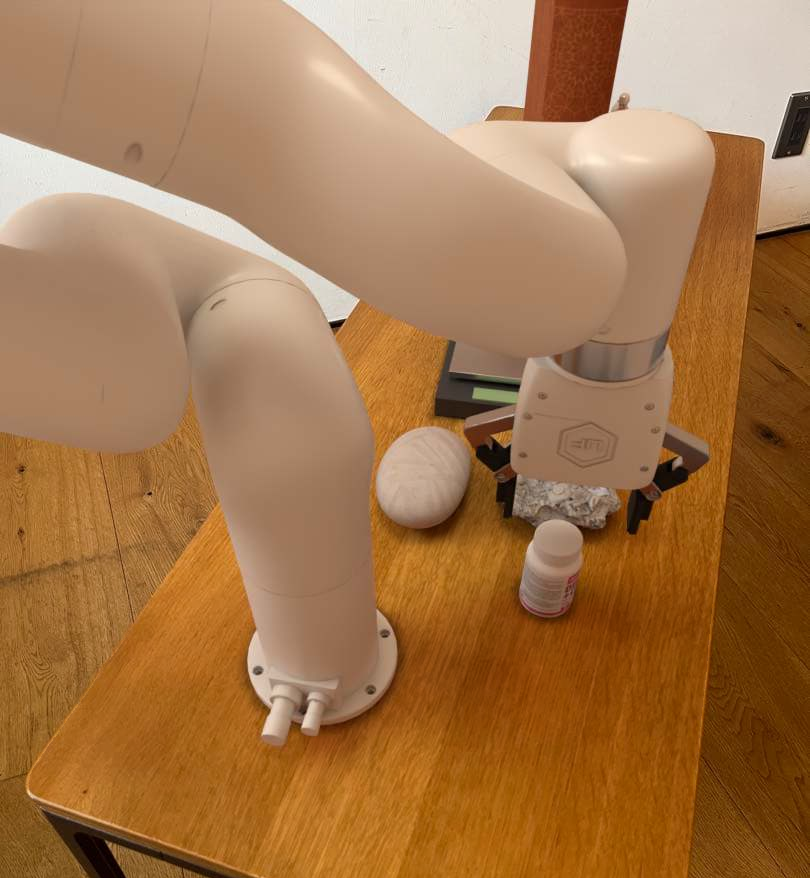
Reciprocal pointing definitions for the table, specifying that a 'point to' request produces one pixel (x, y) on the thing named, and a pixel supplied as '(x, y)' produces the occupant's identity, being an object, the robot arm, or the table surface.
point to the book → (573, 59)
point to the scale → (470, 393)
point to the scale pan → (486, 365)
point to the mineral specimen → (563, 502)
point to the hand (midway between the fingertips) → (569, 513)
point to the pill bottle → (551, 568)
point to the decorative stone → (423, 477)
